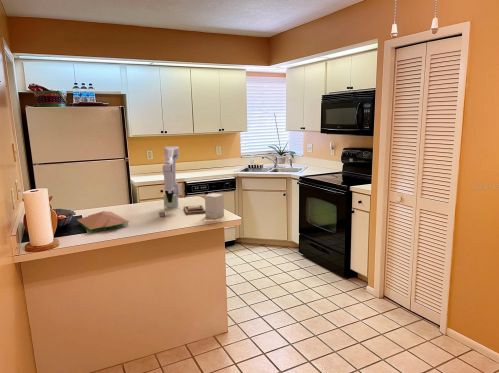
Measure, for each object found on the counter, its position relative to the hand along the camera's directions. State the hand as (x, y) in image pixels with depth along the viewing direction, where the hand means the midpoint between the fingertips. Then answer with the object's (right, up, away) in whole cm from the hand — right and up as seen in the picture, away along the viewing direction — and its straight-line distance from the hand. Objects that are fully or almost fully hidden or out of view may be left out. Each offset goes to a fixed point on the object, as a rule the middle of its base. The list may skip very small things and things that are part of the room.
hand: (169, 201), depth 248 cm
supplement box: (+31, -10, -6) cm, 33 cm away
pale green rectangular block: (0, -2, +1) cm, 3 cm away
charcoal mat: (0, -9, +2) cm, 9 cm away
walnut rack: (+16, -7, +7) cm, 19 cm away
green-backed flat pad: (-37, -14, -20) cm, 44 cm away
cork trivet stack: (+15, -6, +10) cm, 19 cm away
